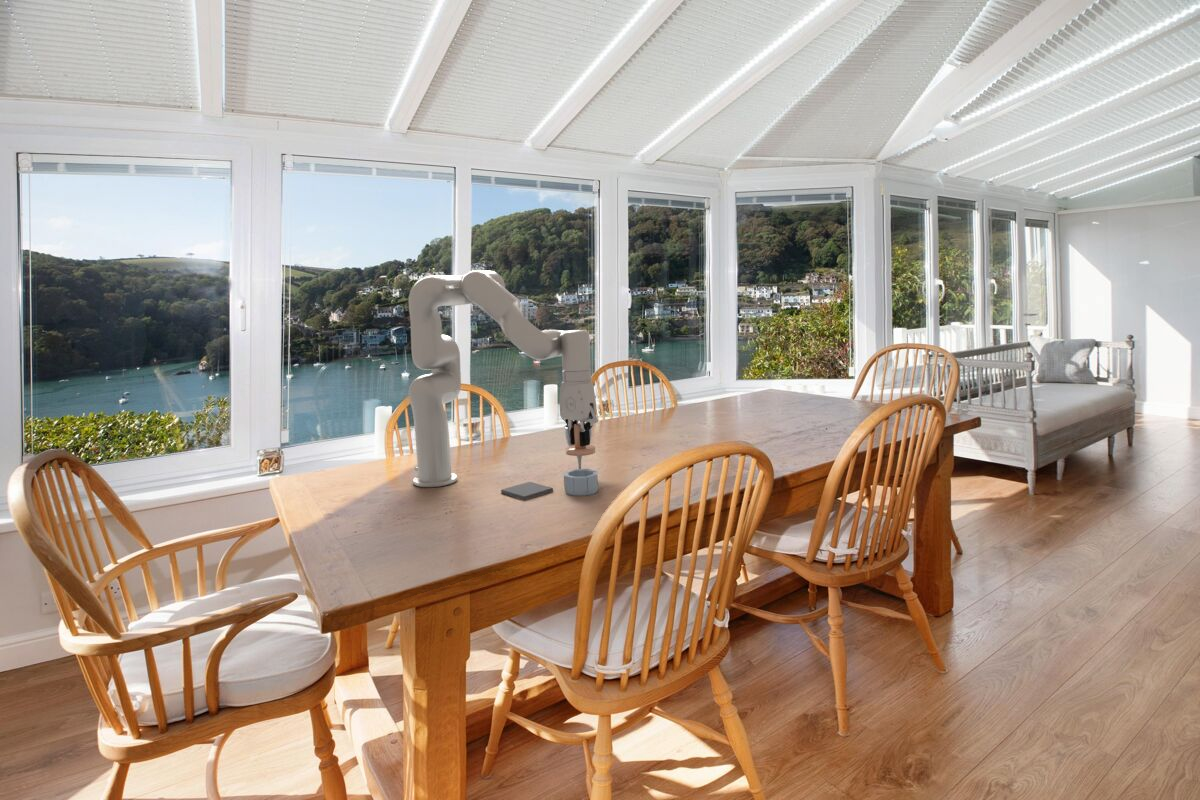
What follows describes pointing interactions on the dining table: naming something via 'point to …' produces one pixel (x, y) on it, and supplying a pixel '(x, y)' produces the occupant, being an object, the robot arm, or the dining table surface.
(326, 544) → the dining table surface
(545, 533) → the dining table surface
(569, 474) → the bowl
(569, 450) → the lid
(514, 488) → the mat
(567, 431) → the wine glass
